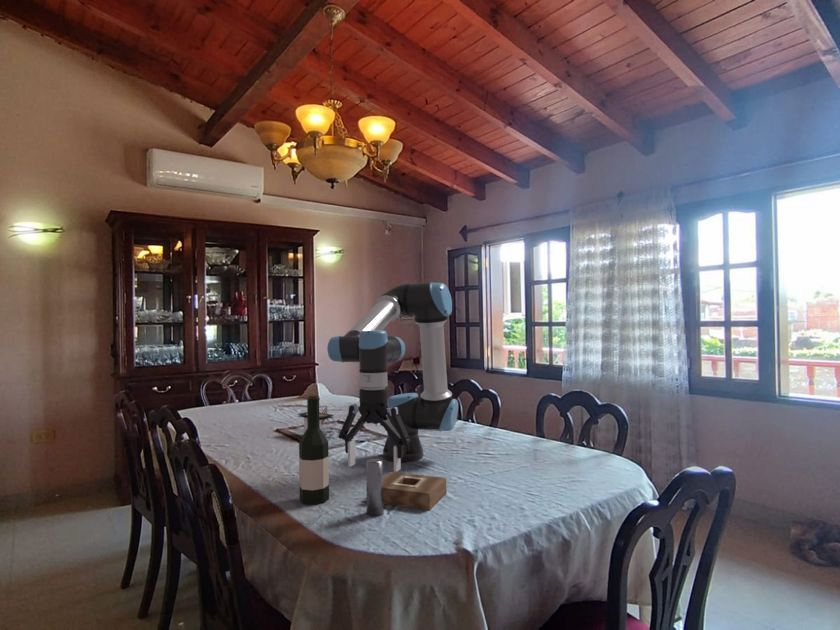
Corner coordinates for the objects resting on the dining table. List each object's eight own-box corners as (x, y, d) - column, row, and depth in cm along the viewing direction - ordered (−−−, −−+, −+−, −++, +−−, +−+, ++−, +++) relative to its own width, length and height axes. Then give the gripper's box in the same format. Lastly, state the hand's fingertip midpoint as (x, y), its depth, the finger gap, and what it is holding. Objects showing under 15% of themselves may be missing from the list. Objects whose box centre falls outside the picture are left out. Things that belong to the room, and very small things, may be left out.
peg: (363, 515, 135) (363, 462, 135) (371, 509, 139) (370, 458, 139) (378, 517, 133) (378, 464, 133) (386, 511, 137) (385, 459, 137)
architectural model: (366, 437, 223) (366, 404, 223) (316, 451, 202) (315, 415, 202) (315, 426, 246) (315, 397, 246) (265, 438, 224) (264, 406, 224)
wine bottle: (301, 495, 150) (300, 393, 150) (330, 494, 151) (329, 393, 151) (297, 505, 142) (296, 398, 142) (327, 504, 143) (326, 397, 143)
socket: (370, 501, 144) (370, 485, 144) (391, 486, 157) (391, 471, 157) (429, 510, 138) (429, 492, 138) (446, 493, 151) (446, 477, 151)
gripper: (325, 387, 137) (326, 466, 137) (411, 391, 128) (411, 476, 128) (340, 384, 144) (340, 459, 144) (422, 388, 135) (422, 468, 135)
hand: (374, 467), depth 136 cm, fingers open, 13 cm apart
